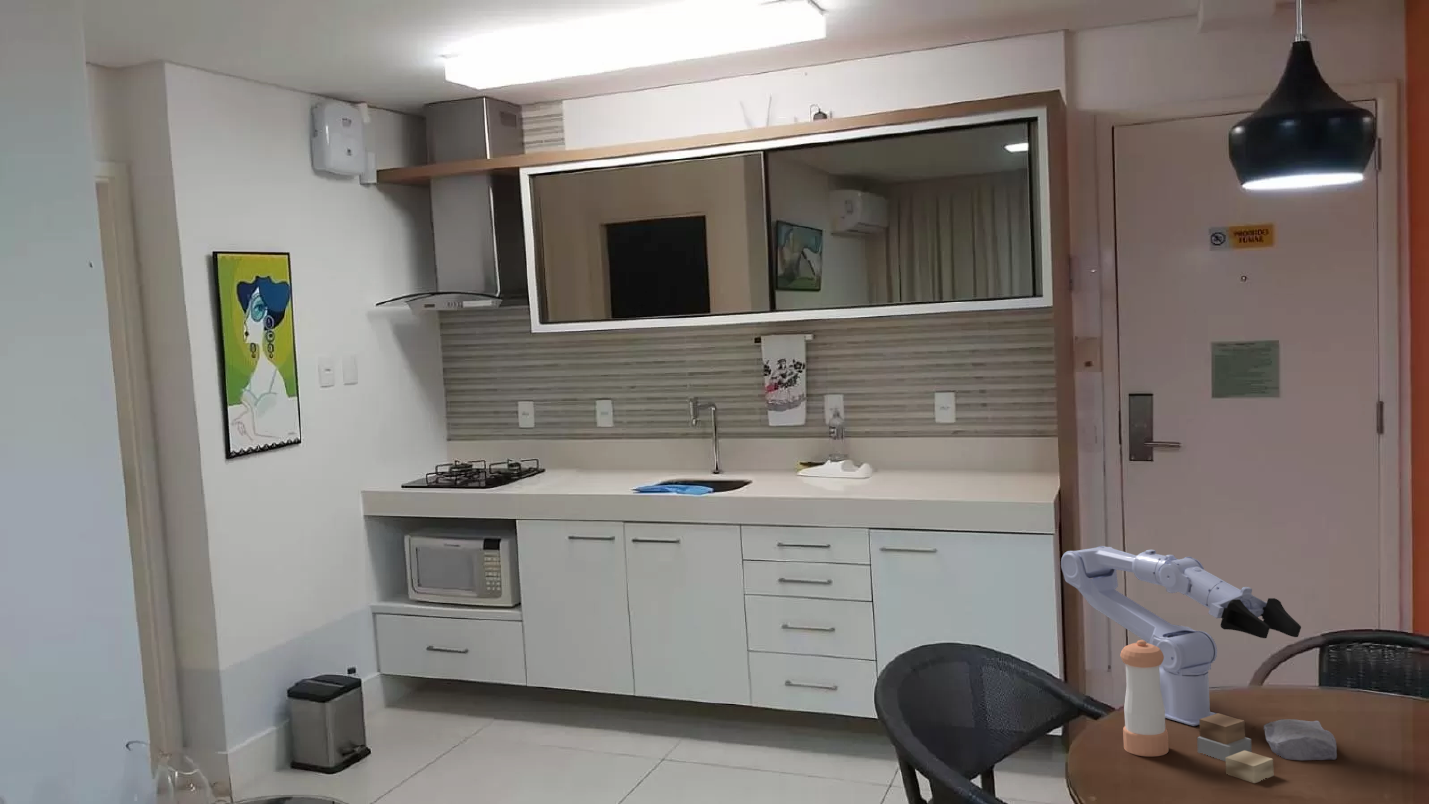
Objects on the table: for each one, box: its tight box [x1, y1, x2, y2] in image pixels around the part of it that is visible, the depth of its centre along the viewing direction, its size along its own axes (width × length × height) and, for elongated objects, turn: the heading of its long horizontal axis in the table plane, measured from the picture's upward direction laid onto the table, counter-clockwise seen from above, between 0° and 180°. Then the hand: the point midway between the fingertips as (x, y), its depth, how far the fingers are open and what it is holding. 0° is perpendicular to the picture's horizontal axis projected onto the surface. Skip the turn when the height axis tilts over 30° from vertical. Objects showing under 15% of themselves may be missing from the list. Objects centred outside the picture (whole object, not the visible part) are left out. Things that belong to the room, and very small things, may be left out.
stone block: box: [1263, 718, 1338, 761], centre depth 190 cm, size 12×5×10 cm
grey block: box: [1196, 736, 1253, 762], centre depth 189 cm, size 6×6×3 cm
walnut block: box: [1199, 712, 1246, 744], centre depth 190 cm, size 5×5×3 cm
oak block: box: [1225, 750, 1275, 784], centre depth 180 cm, size 5×5×3 cm
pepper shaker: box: [1119, 639, 1170, 758], centre depth 193 cm, size 7×7×19 cm
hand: (1282, 632), depth 188 cm, fingers open, 7 cm apart
